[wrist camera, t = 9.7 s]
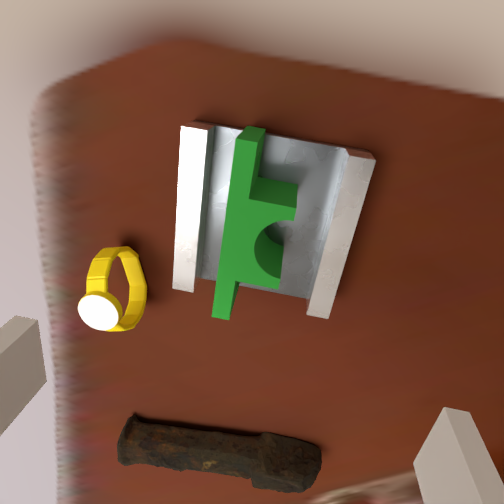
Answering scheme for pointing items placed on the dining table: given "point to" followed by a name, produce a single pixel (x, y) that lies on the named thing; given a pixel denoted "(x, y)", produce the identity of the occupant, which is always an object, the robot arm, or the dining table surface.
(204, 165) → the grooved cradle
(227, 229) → the pipe clamp
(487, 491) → the robot arm
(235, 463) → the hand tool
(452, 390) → the dining table surface
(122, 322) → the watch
